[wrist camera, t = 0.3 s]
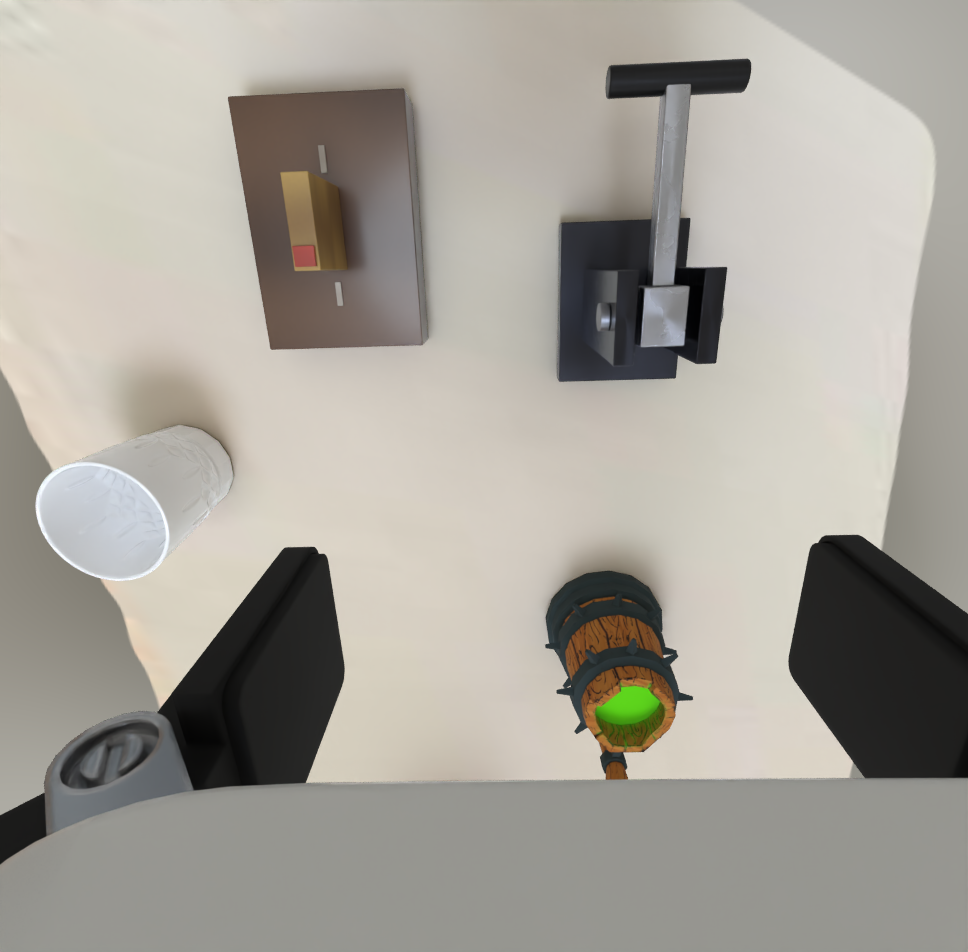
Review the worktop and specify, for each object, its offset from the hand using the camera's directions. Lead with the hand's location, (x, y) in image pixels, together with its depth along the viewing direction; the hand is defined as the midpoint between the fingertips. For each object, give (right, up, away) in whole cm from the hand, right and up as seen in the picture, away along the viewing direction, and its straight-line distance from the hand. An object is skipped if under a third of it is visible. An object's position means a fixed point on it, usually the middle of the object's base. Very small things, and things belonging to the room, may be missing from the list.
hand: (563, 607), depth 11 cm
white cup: (-24, +3, +31) cm, 40 cm away
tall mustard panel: (-11, +17, +22) cm, 30 cm away
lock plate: (-11, +19, +25) cm, 33 cm away
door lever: (+7, +15, +16) cm, 24 cm away
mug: (+8, -11, +36) cm, 39 cm away
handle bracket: (+7, +14, +26) cm, 31 cm away
